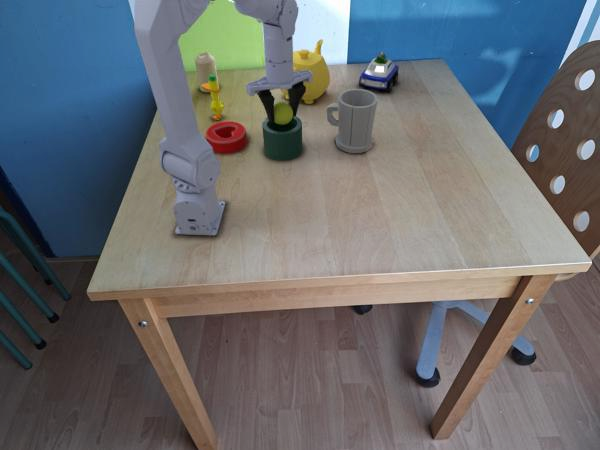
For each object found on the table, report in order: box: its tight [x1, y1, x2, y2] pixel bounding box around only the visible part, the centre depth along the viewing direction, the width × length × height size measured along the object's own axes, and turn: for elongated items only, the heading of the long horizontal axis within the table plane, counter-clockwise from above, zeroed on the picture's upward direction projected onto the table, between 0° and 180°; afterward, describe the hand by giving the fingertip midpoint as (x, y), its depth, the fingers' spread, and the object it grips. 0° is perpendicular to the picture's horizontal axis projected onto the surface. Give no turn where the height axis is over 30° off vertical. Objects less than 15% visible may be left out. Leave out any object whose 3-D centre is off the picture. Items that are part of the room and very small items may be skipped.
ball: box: [274, 101, 293, 125], centre depth 94 cm, size 5×5×5 cm
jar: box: [261, 116, 303, 162], centre depth 98 cm, size 9×9×7 cm
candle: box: [194, 51, 220, 93], centre depth 121 cm, size 6×6×10 cm
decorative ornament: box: [205, 120, 248, 154], centre depth 102 cm, size 10×10×3 cm
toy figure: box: [201, 74, 225, 121], centre depth 108 cm, size 7×4×12 cm, turn 57°
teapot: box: [279, 39, 331, 105], centre depth 117 cm, size 13×20×12 cm
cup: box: [326, 88, 379, 154], centre depth 98 cm, size 10×9×12 cm
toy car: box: [358, 51, 400, 93], centre depth 121 cm, size 9×12×10 cm
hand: (281, 117), depth 95 cm, fingers closed on ball, 5 cm apart
